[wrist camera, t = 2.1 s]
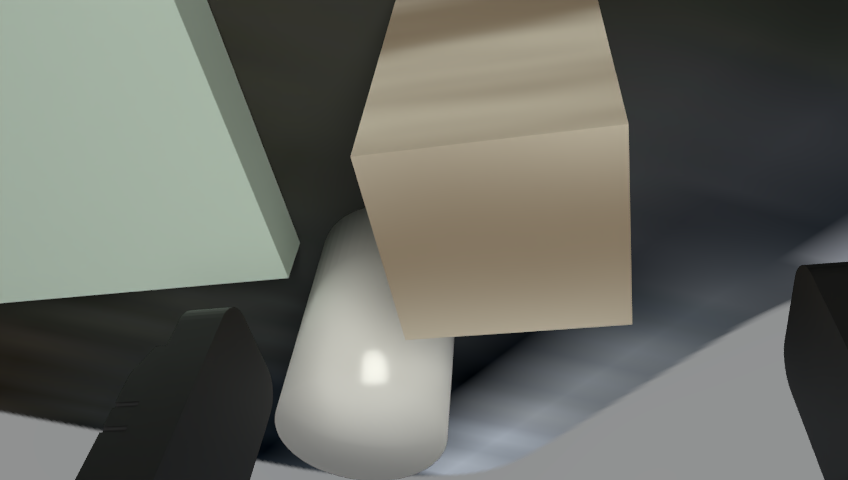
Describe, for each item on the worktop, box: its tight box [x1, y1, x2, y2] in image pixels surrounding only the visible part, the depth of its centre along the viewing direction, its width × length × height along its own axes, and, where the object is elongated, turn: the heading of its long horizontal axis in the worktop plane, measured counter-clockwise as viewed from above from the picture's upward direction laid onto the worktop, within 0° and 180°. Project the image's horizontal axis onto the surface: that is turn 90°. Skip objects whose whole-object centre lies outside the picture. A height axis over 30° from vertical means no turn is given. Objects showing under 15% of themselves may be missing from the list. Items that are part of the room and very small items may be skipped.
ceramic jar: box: [275, 208, 454, 480], centre depth 19 cm, size 4×4×6 cm
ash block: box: [350, 0, 632, 340], centre depth 14 cm, size 4×4×7 cm
